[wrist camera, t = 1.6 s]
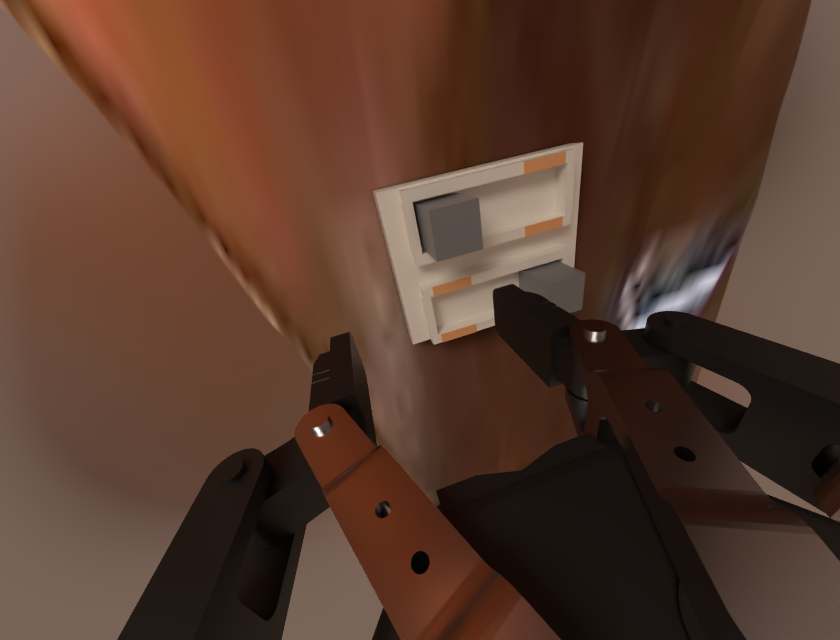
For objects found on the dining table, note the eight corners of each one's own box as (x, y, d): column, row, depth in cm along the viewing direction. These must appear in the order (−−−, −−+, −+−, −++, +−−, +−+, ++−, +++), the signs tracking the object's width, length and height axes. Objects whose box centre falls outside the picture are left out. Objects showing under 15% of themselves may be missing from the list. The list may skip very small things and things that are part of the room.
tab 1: (413, 203, 26) (428, 210, 22) (455, 192, 27) (478, 197, 22) (421, 247, 28) (437, 262, 24) (460, 236, 29) (483, 249, 24)
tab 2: (518, 268, 32) (547, 284, 28) (552, 258, 32) (585, 272, 28) (519, 300, 34) (546, 320, 30) (550, 291, 34) (581, 309, 30)
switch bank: (372, 190, 27) (377, 194, 24) (568, 143, 29) (596, 141, 26) (409, 335, 35) (416, 352, 32) (561, 288, 37) (581, 300, 34)
